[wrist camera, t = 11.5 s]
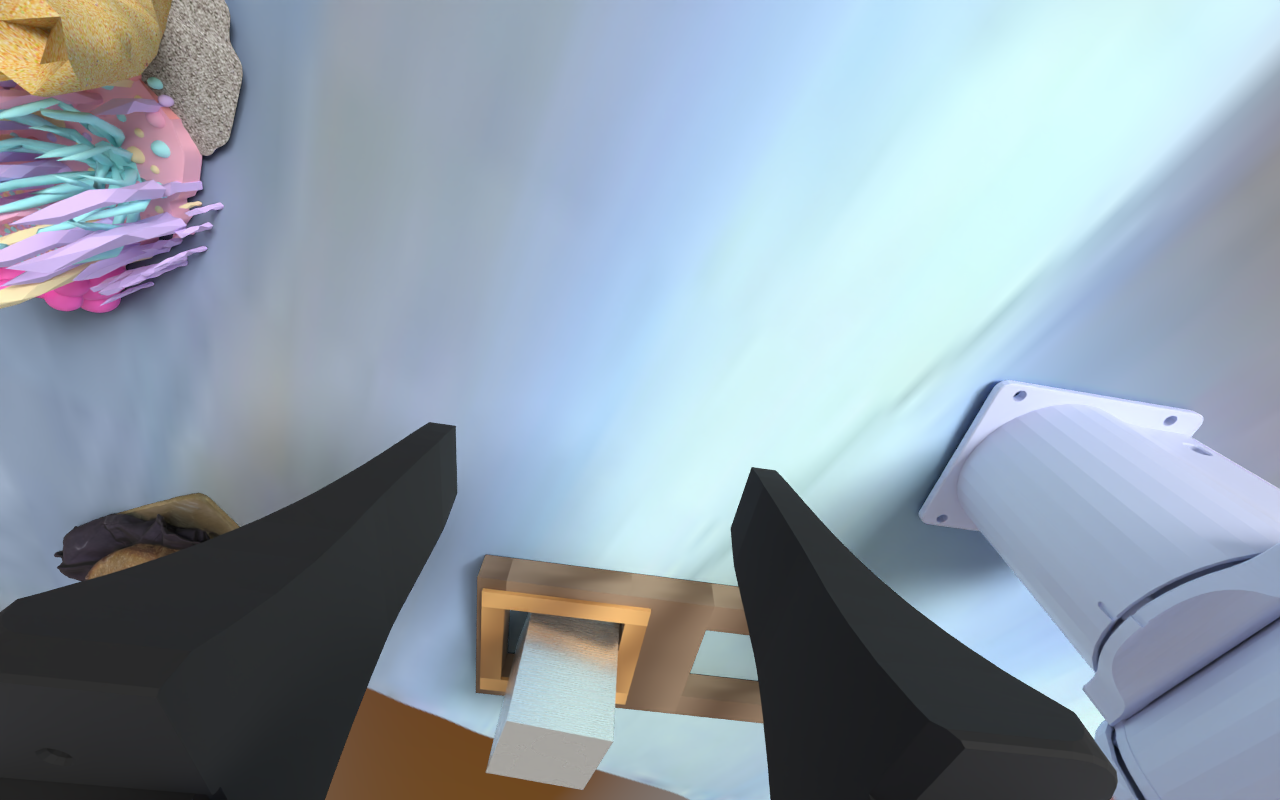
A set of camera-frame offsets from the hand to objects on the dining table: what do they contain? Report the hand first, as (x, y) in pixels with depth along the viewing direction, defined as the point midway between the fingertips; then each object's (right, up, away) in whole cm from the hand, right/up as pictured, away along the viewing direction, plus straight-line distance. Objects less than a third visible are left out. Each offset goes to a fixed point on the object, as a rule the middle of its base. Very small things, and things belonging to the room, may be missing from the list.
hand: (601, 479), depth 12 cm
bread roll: (-25, -7, +16) cm, 30 cm away
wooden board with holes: (+2, -12, +18) cm, 22 cm away
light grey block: (-3, -12, +18) cm, 21 cm away
